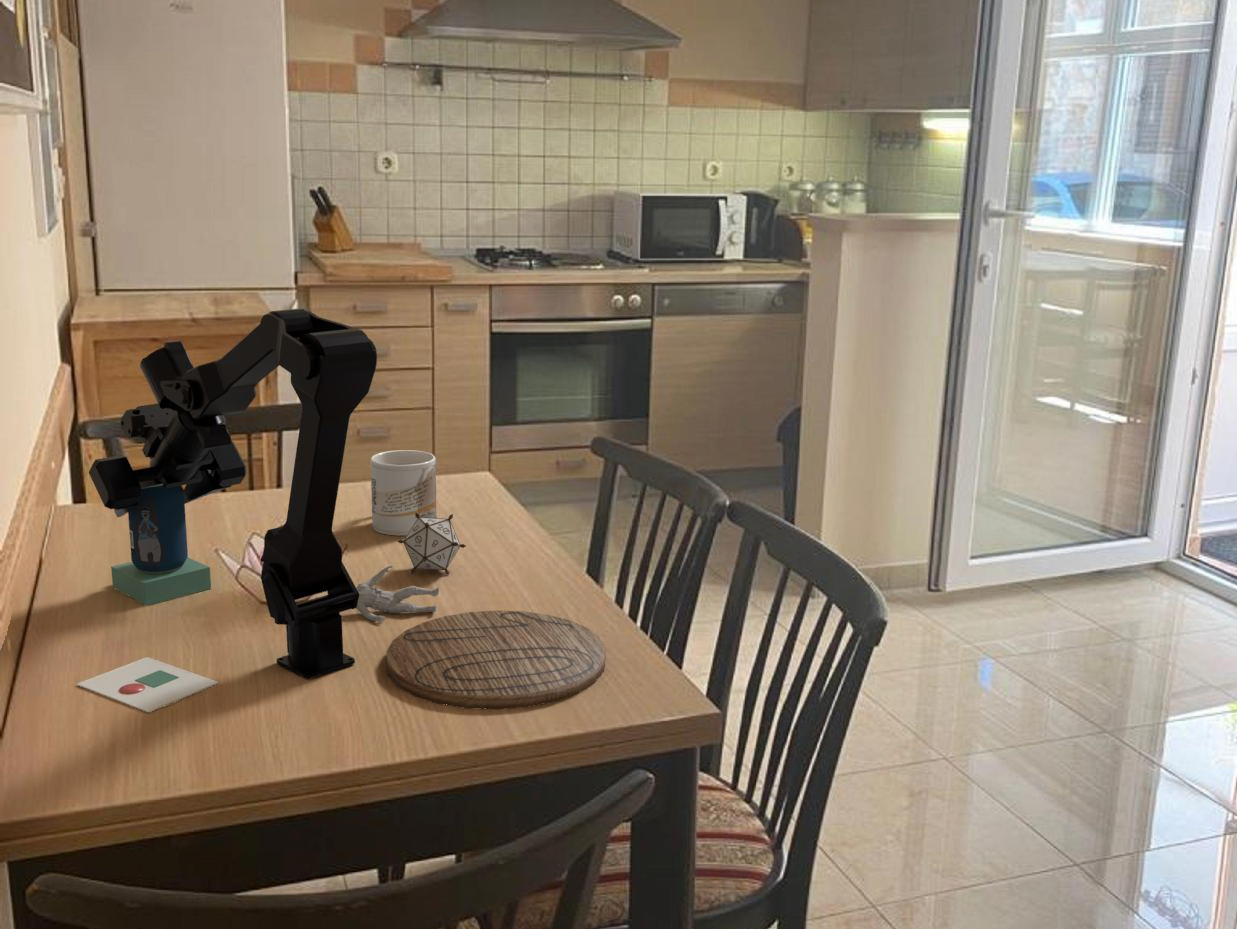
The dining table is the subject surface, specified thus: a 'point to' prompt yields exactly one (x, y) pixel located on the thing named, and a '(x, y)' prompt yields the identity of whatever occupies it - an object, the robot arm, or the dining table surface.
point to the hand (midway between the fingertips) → (151, 507)
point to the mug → (402, 490)
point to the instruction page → (147, 684)
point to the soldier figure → (389, 598)
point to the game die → (432, 543)
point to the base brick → (161, 582)
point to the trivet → (496, 659)
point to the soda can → (158, 530)
